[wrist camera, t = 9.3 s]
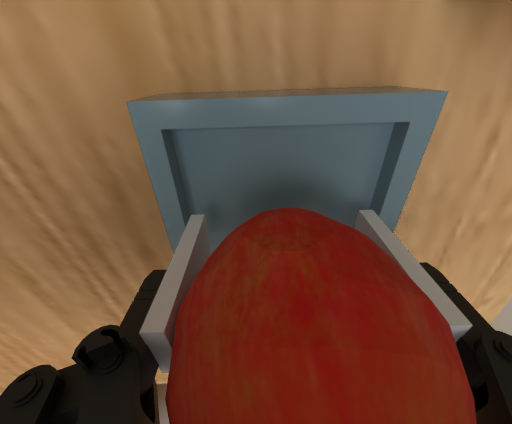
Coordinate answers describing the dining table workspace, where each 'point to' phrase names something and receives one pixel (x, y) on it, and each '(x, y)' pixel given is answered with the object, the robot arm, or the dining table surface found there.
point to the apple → (311, 333)
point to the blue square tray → (283, 152)
